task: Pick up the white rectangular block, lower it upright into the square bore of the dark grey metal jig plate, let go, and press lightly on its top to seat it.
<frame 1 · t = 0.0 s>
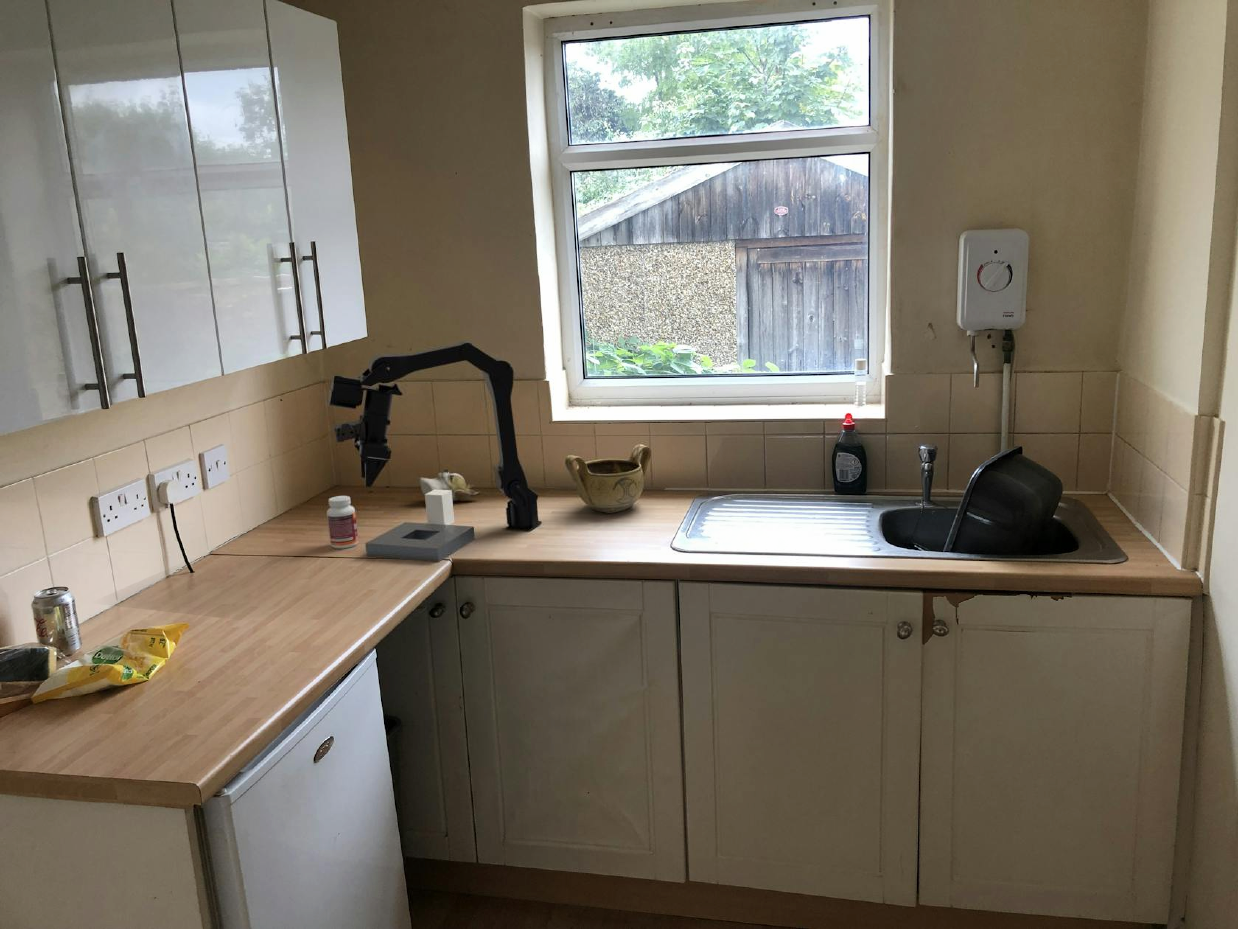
hand: (365, 482, 218), 15 cm above the worktop, fingers open, 9 cm apart
ceramic bowl: (611, 509, 244), on the worktop
pill bottle: (344, 546, 226), on the worktop
jig plate: (421, 547, 221), on the worktop
ceramic sculpture: (450, 501, 260), on the worktop
white rectangular block: (441, 524, 238), on the worktop
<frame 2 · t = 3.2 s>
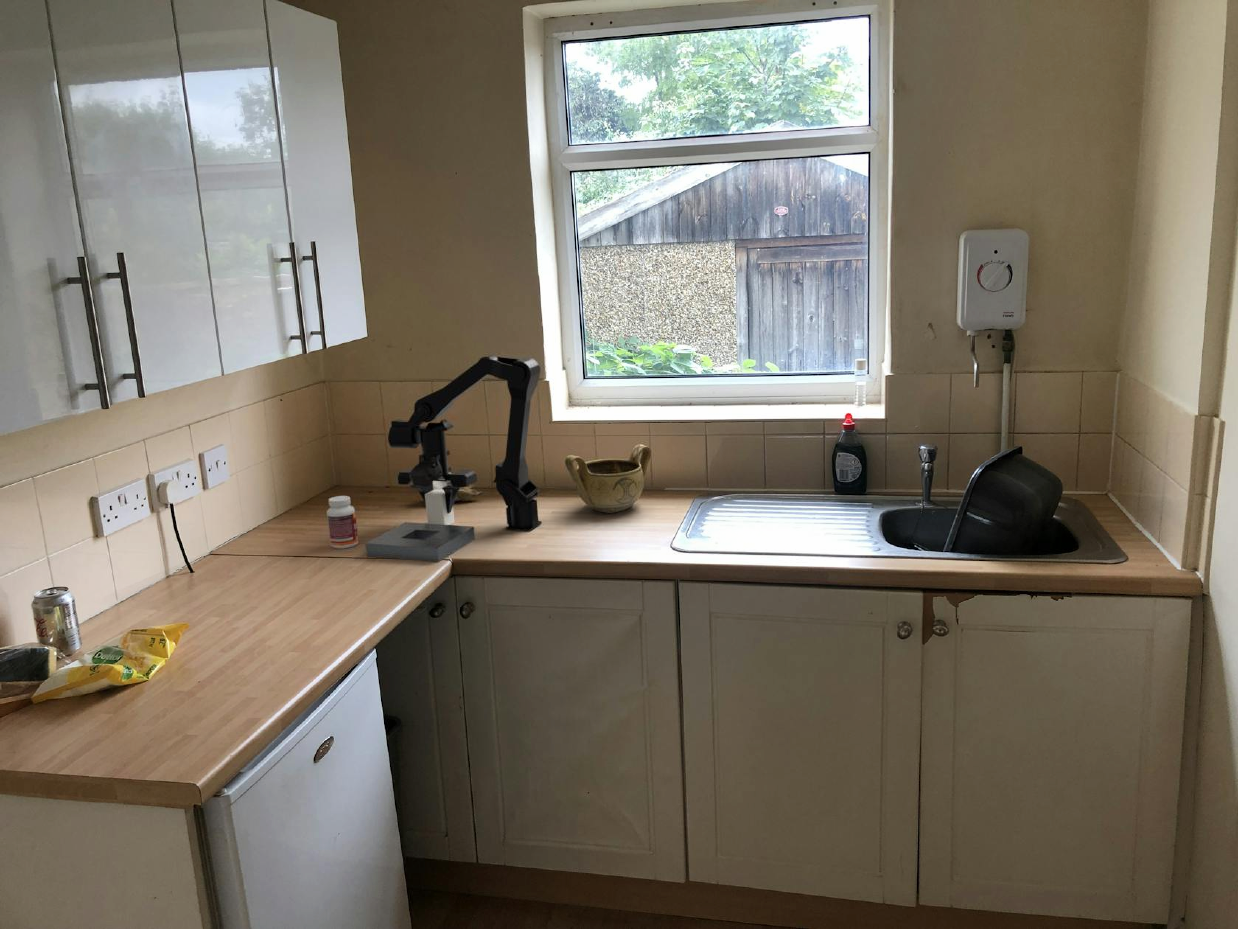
hand: (440, 512, 238), 3 cm above the worktop, fingers closed on white rectangular block, 5 cm apart
white rectangular block: (441, 524, 238), on the worktop, touching gripper
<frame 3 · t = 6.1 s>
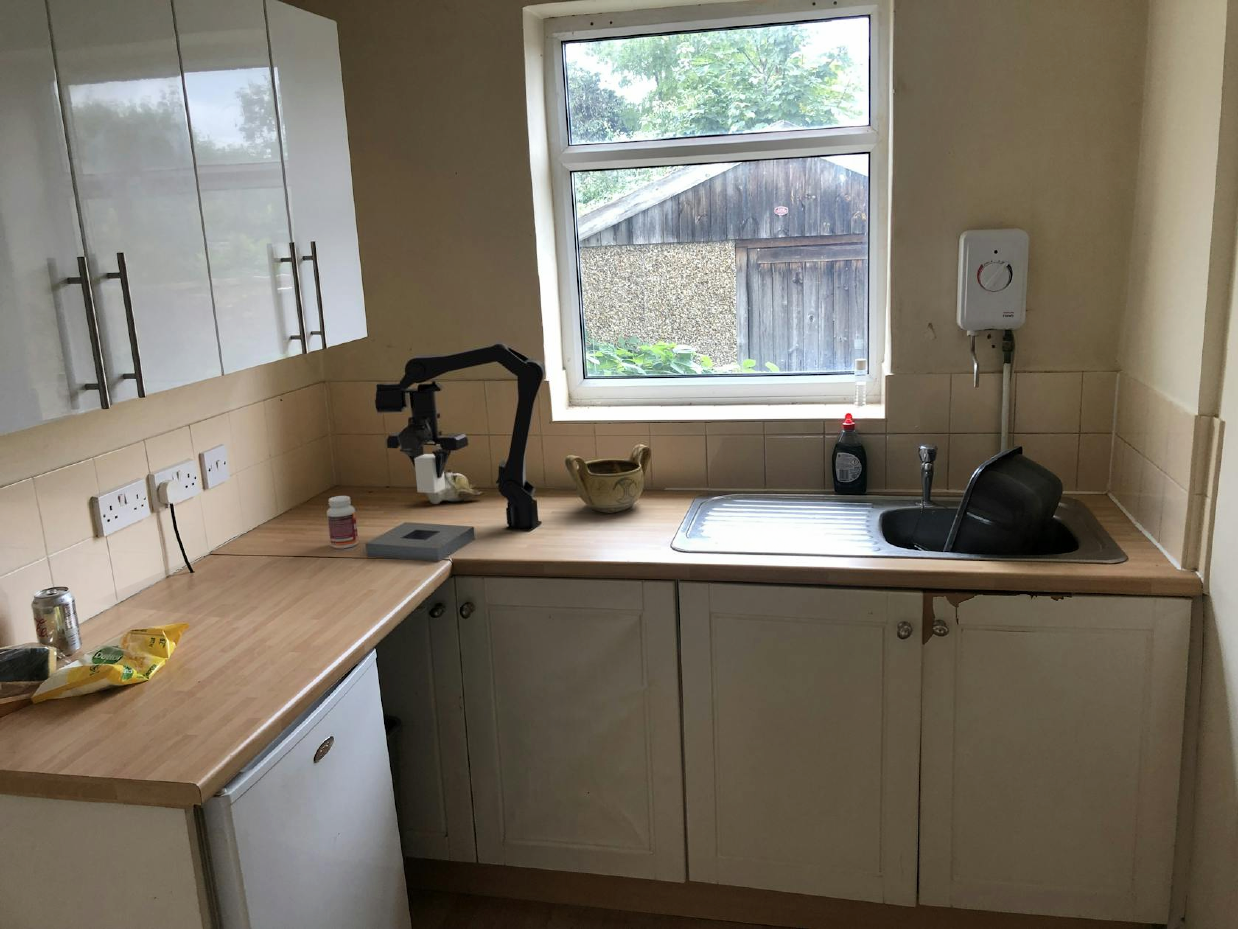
hand: (430, 477, 230), 13 cm above the worktop, fingers closed on white rectangular block, 5 cm apart
white rectangular block: (431, 490, 231), point 10 cm above the worktop, touching gripper
when the fingers open (4 cm above the worktop, at t = 9.4 s): white rectangular block drops 1 cm, resting in jig plate.
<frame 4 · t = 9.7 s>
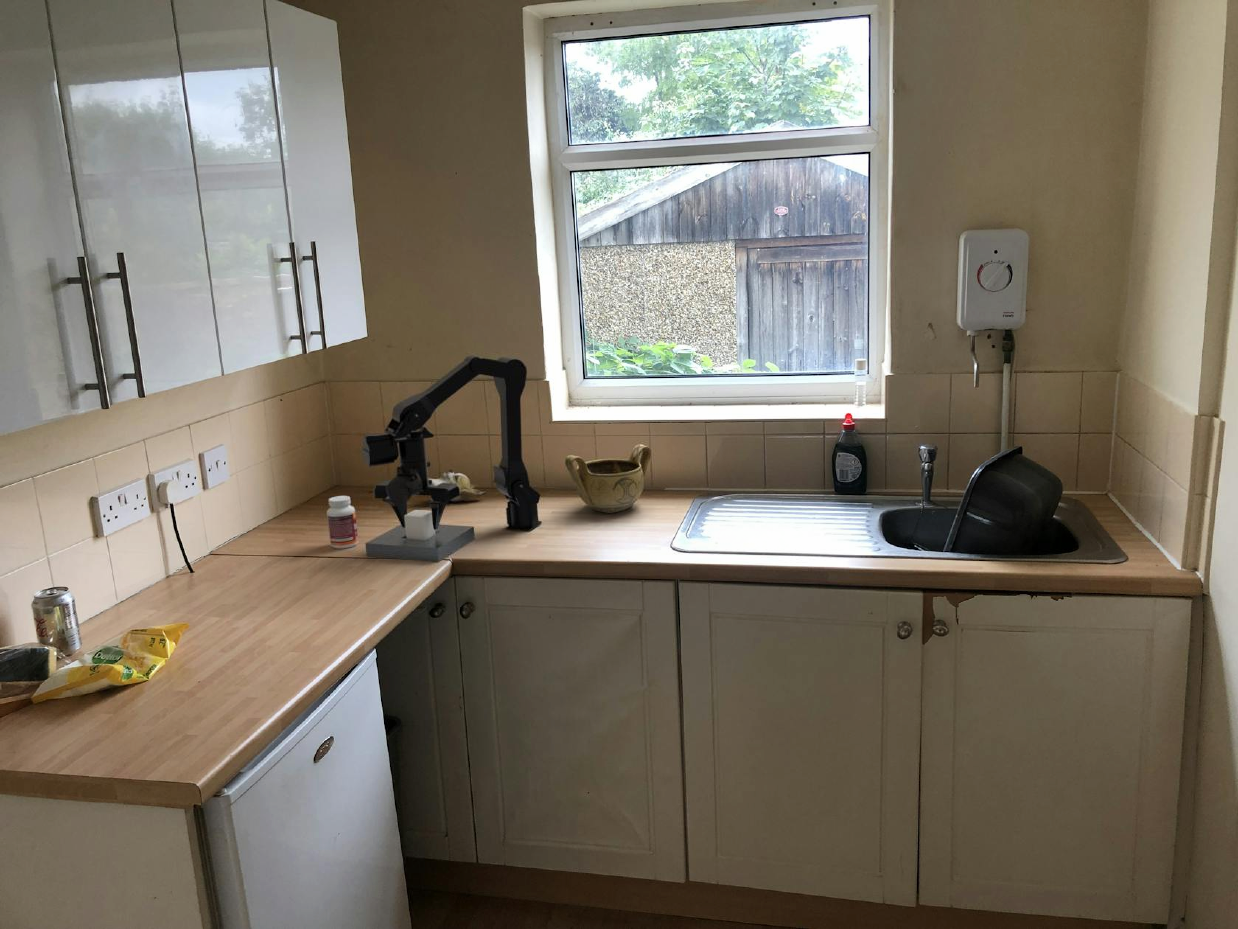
hand: (420, 528, 220), 4 cm above the worktop, fingers open, 8 cm apart
white rectangular block: (422, 547, 221), resting in jig plate
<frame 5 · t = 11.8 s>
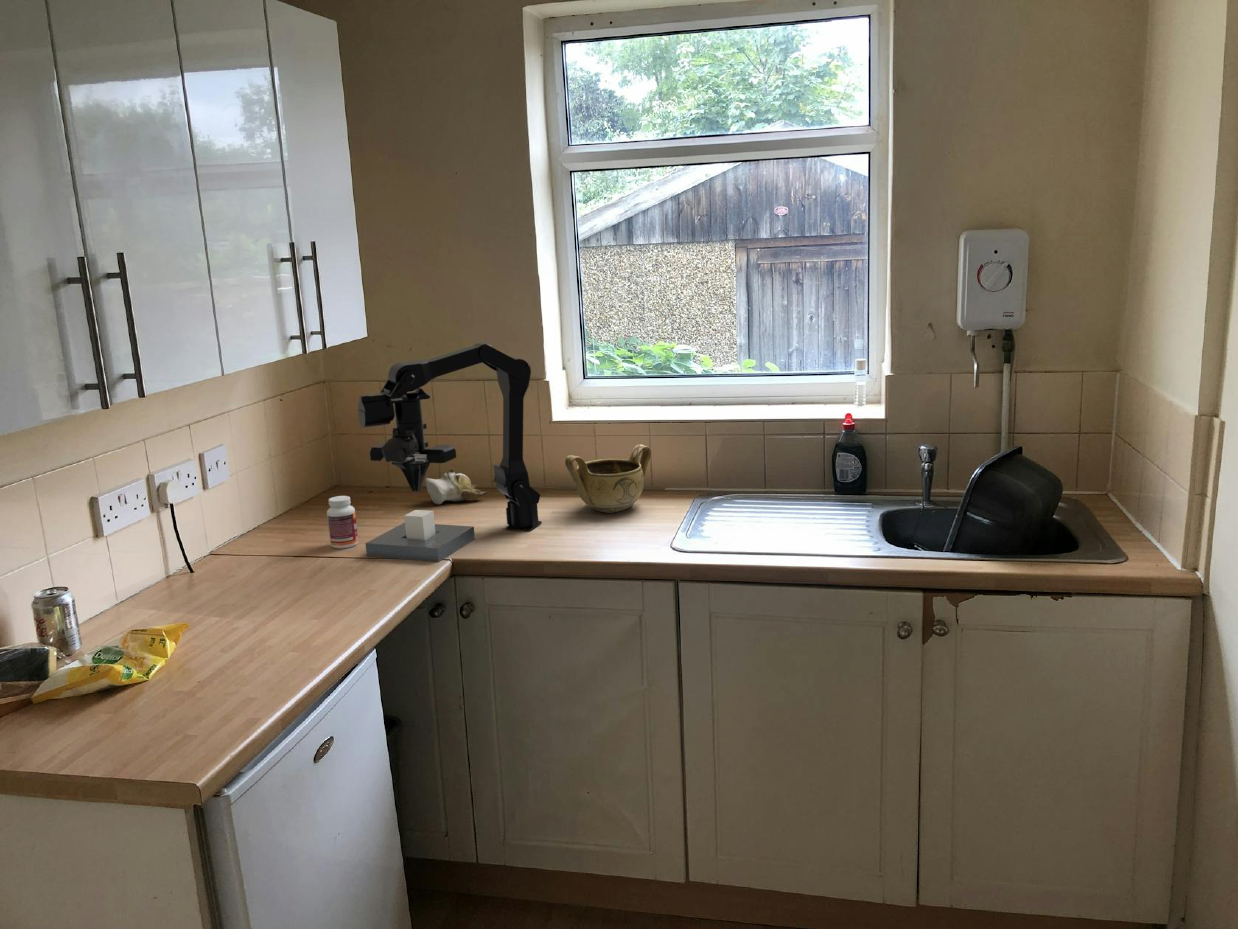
hand: (416, 491, 218), 13 cm above the worktop, fingers closed
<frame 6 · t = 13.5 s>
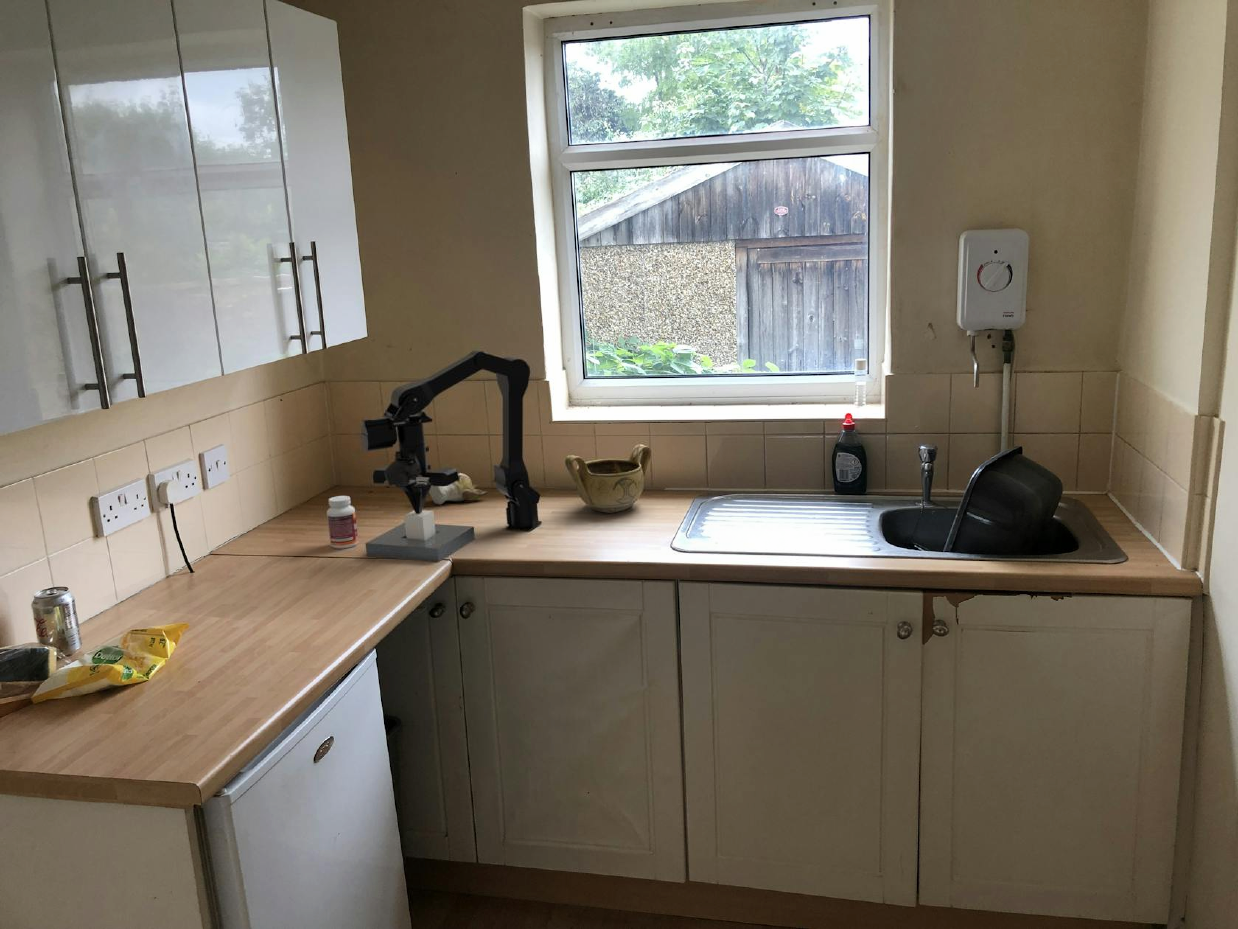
hand: (418, 513, 219), 8 cm above the worktop, fingers closed, pressing on white rectangular block
white rectangular block: (422, 547, 221), resting in jig plate, touching gripper
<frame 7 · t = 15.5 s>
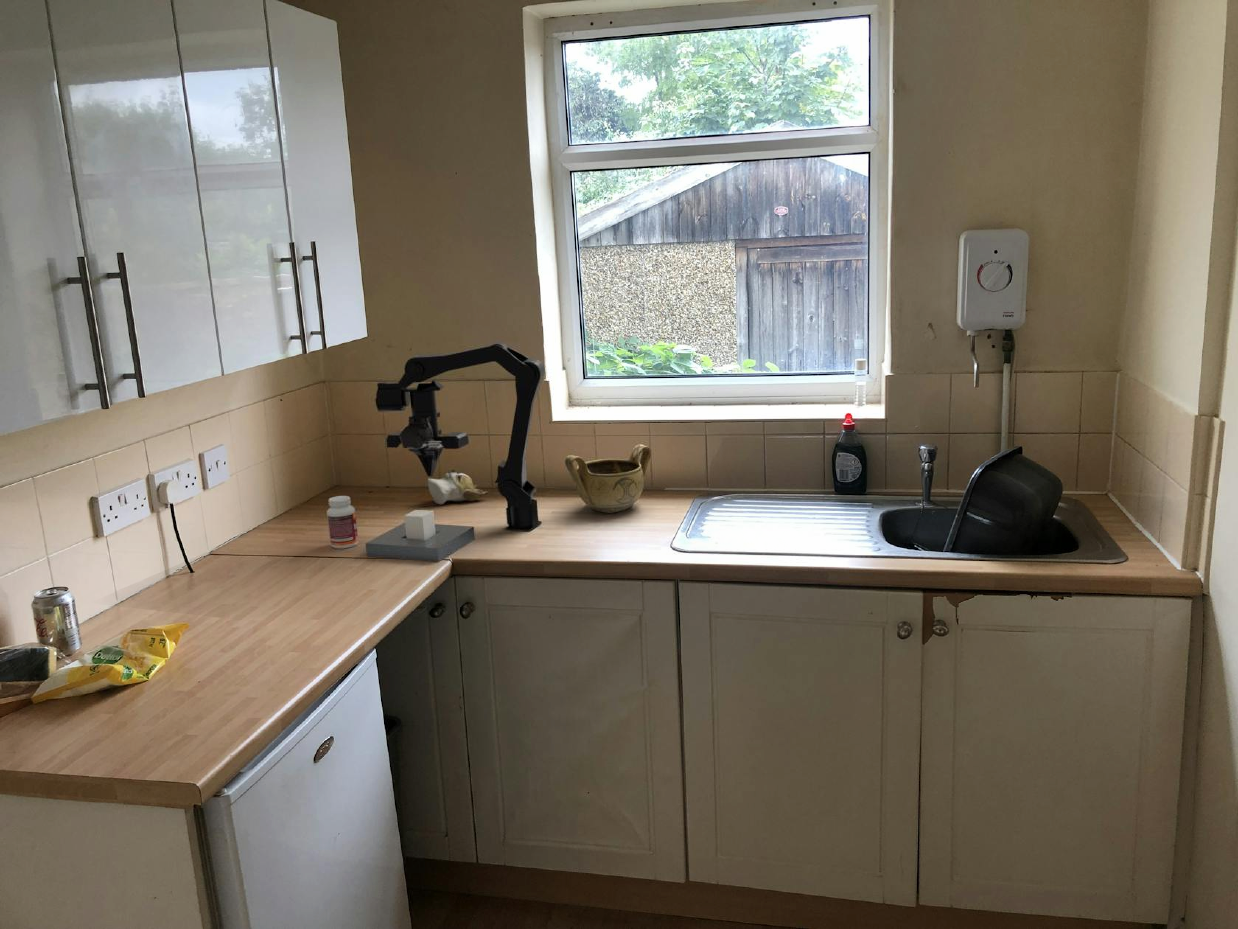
hand: (430, 476, 232), 13 cm above the worktop, fingers closed
white rectangular block: (422, 547, 221), resting in jig plate
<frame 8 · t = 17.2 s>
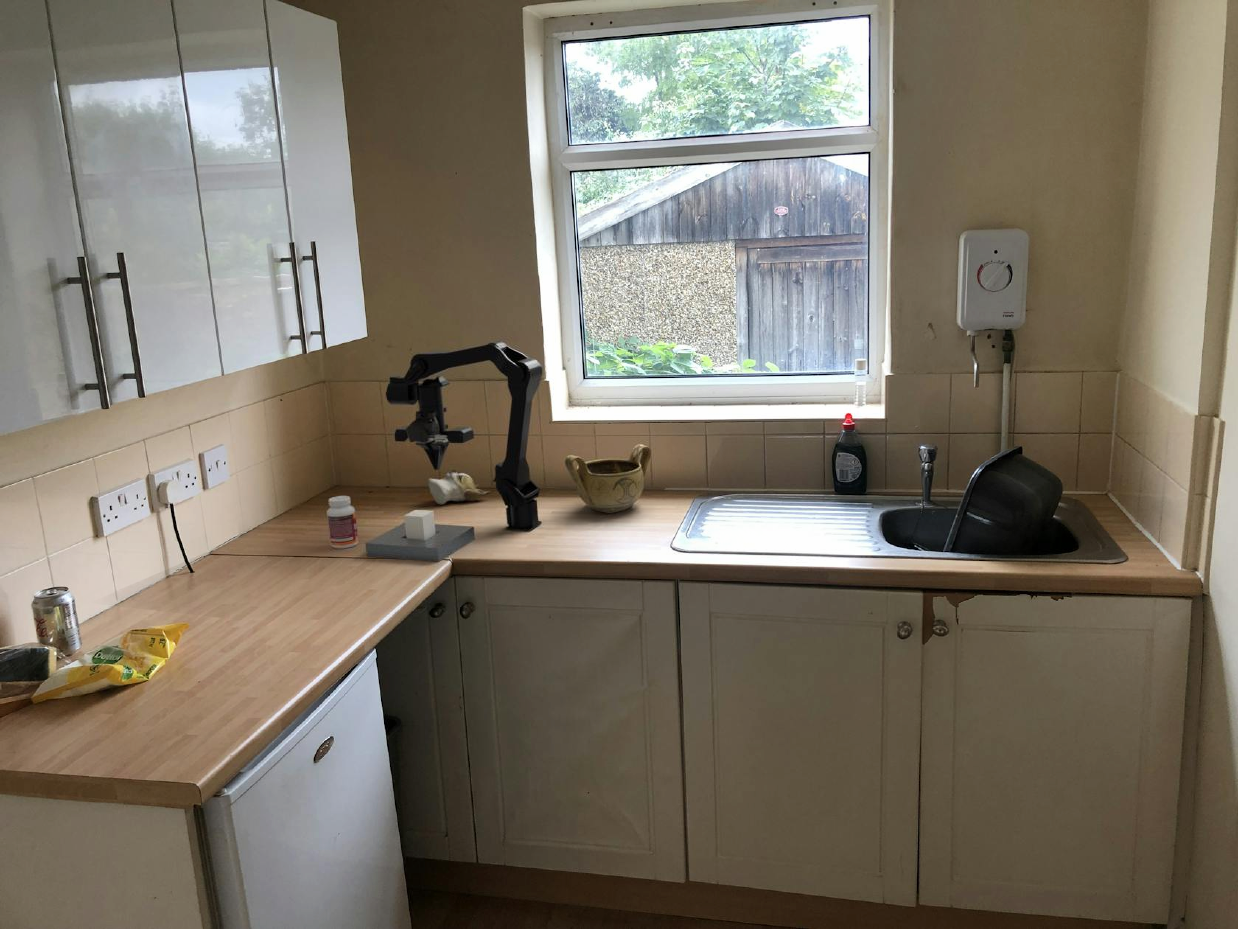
hand: (437, 469, 238), 13 cm above the worktop, fingers closed
at the end: white rectangular block 0.1 cm off-centre on the jig plate, point 0.0 cm above the jig plate's base; white rectangular block tilted 0°; the gripper is holding nothing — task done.
